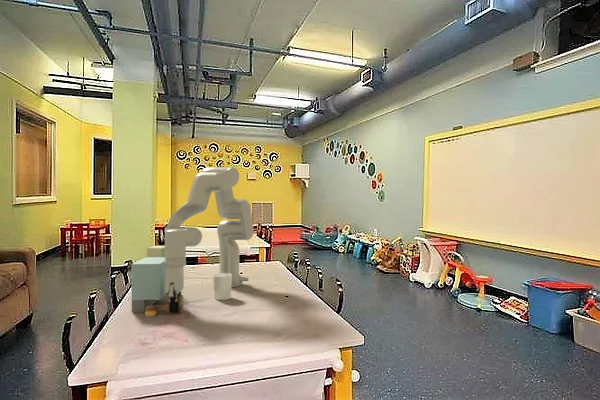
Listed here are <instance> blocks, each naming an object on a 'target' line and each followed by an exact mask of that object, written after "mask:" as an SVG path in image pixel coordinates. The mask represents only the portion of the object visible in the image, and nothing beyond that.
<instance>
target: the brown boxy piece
mask: <svg viewBox="0 0 600 400" xmlns="http://www.w3.org/2000/svg"><path fill="white" fill-rule="evenodd" d="M174 296H176V295H174ZM177 302H178V313H177V314H182V313H183V311H184V295H183V294H182V295H178V299H177ZM148 310H156V314H172V313H169V304H152V305H147V306H146V307H145V311H148ZM145 311H144V312H145Z"/></svg>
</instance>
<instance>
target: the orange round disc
mask: <svg viewBox="0 0 600 400" xmlns="http://www.w3.org/2000/svg"><path fill="white" fill-rule="evenodd" d="M156 316H157V313H156V310H148V311H144V317H147V318H151V317H156Z"/></svg>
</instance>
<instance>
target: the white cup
mask: <svg viewBox="0 0 600 400" xmlns="http://www.w3.org/2000/svg"><path fill="white" fill-rule="evenodd" d="M212 277H213V279H212V280H213V282H212V283H213V293H214V299H215V300H216V301H227V300H229V299H231V297H232V287H231V286H232V274H230V273H220V272H219V273H214V274H213V276H212Z"/></svg>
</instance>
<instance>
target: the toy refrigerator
mask: <svg viewBox="0 0 600 400" xmlns="http://www.w3.org/2000/svg"><path fill="white" fill-rule="evenodd" d="M146 248H147V249H146V257H165V245H154V246H149V247H146Z"/></svg>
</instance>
